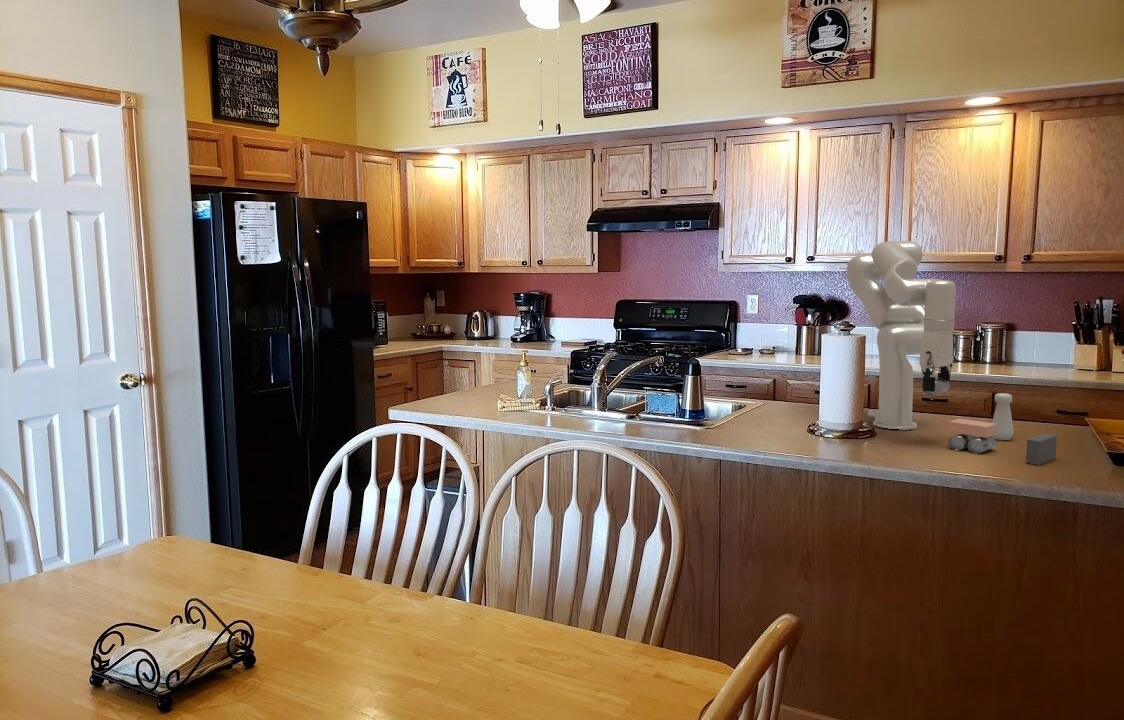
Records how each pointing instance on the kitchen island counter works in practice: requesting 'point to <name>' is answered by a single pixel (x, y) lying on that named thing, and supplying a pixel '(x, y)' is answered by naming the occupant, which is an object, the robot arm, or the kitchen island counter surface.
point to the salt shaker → (1003, 417)
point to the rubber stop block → (1041, 449)
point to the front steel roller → (981, 444)
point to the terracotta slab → (972, 427)
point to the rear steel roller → (960, 441)
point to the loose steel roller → (939, 386)
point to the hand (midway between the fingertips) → (936, 388)
